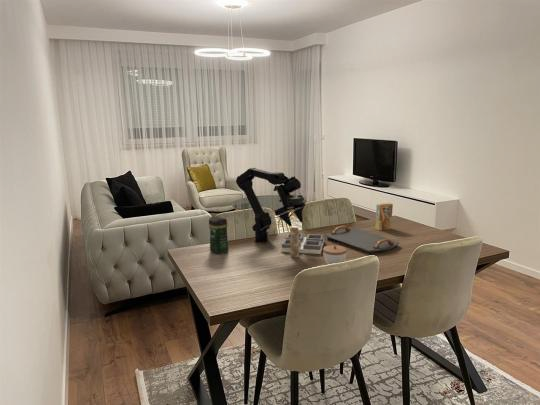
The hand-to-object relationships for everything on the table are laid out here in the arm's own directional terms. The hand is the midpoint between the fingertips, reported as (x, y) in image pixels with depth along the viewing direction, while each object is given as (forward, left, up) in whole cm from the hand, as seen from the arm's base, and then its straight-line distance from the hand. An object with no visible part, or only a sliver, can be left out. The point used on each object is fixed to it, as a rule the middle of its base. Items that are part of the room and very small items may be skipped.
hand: (296, 224), depth 212 cm
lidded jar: (+21, -18, -14) cm, 31 cm away
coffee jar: (-38, -10, -14) cm, 42 cm away
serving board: (+33, +17, -14) cm, 39 cm away
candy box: (+46, +46, -14) cm, 66 cm away
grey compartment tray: (+3, +5, -14) cm, 15 cm away
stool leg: (+1, -10, -14) cm, 17 cm away
